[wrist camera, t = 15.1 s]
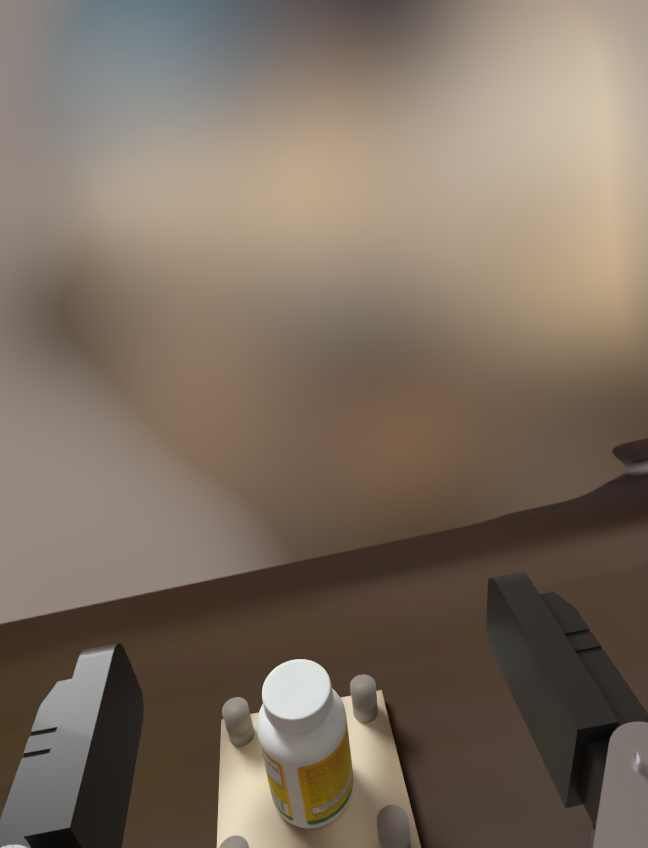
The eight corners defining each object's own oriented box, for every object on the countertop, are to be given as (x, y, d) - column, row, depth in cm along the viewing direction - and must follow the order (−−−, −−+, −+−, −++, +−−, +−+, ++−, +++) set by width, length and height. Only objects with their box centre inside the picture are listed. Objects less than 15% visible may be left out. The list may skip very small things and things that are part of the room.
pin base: (382, 699, 43) (379, 664, 42) (427, 882, 33) (426, 845, 31) (223, 728, 42) (214, 693, 41) (217, 925, 32) (204, 890, 30)
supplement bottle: (260, 821, 36) (233, 721, 31) (287, 740, 40) (266, 643, 36) (344, 841, 34) (329, 739, 30) (362, 755, 39) (351, 655, 34)
